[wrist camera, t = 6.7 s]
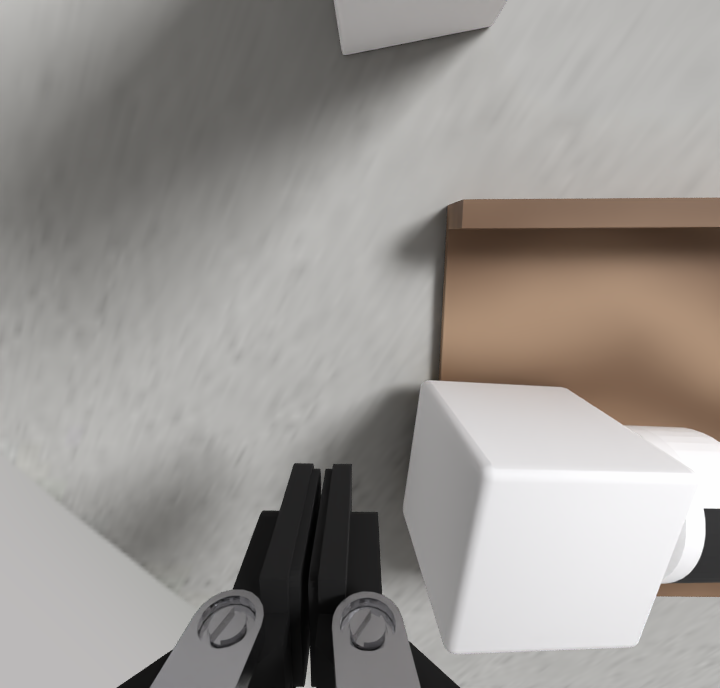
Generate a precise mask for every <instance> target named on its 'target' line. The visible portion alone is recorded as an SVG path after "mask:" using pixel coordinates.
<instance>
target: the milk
mask: <svg viewBox="0 0 720 688" xmlns="http://www.w3.org/2000/svg"><path fill="white" fill-rule="evenodd" d="M506 2H507V0H334V6H335V12H336V19H337V25H338V32H339V38H340V45H341V50H342V54H343V55H349V54H354V53H359V52H364V51H369V50H374V49H379V48H384V47H389V46H394V45H399V44H404V43H409V42H414V41H419V40H425V39H430V38H435V37H440V36H445V35H450V34H455V33H460V32H465V31H470V30H475V29H480V28H485V27H489V26H492V25H493V24H494V22H495V20H496V19H497V17H498V15H499V14H500V12H501V10H502V9H503V7H504V5H505V4H506Z"/></svg>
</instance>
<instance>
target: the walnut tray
mask: <svg viewBox="0 0 720 688" xmlns="http://www.w3.org/2000/svg"><path fill="white" fill-rule="evenodd" d="M439 381H453V382H472V383H492V384H511V385H530V386H550V387H563V388H566V389H568V390H570V391H571V392H573V393H574V394H576V395H577V396H579V397H581V398H582V399H584V400H585V401H587V402H588V403H590V404H591V405H593V406H594V407H596V408H598V409H599V410H601V411H602V412H604V413H605V414H607V415H608V416H610V417H612V418H613V419H615V420H616V421H618V422H619V423H621V424H622V425H630V426H656V427H681V428H688V429H693V430H696V431H699V432H702V433H704V434H706V435H708V436H710V437H712V438H714V439H715V440H717V441H718V442H720V198H613V199H472V200H461V201H458V202H456V203H453V204H450V205H448V206H447V226H446V246H445V265H444V285H443V305H442V325H441V345H440V364H439ZM656 596H681V597H720V583H667V584H661V585H660V587H659V590H658V592H657V595H656Z"/></svg>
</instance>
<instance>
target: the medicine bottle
mask: <svg viewBox="0 0 720 688" xmlns="http://www.w3.org/2000/svg"><path fill="white" fill-rule="evenodd" d="M403 514H404V517H405V520H406V523H407V527H408V530H409V533H410V537H411V540H412V543H413V546H414V550H415V553H416V556H417V559H418V563H419V566H420V569H421V573H422V576H423V579H424V582H425V586H426V589H427V592H428V596H429V599H430V602H431V605H432V609H433V612H434V615H435V619H436V622H437V625H438V628H439V632H440V635H441V638H442V642H443V645H444V647H445V648H446V649H447V651H448V652H450V653H453V654H477V653H502V652H526V651H551V650H575V649H600V648H624V647H633V646H635V645H637V644H638V642H639V639H640V637H641V634H642V631H643V629H644V626H645V624H646V621H647V618H648V616H649V613H650V611H651V608H652V605H653V603H654V600H655V598H656V595H657V592H658V590H659V587H660V585H661V584H667V583H720V442H718V441H717V440H715V439H714V438H712V437H710V436H708V435H706V434H704V433H702V432H699V431H696V430H693V429H688V428H681V427H656V426H630V425H622V424H621V423H619V422H618V421H616V420H615V419H613V418H612V417H610V416H608V415H607V414H605V413H604V412H602V411H601V410H599V409H598V408H596V407H594V406H593V405H591V404H590V403H588V402H587V401H585V400H584V399H582V398H581V397H579V396H577V395H576V394H574V393H573V392H571V391H570V390H568V389H566V388H563V387H550V386H530V385H511V384H492V383H472V382H453V381H434V380H428V381H424V382H423V383H422V384H421V388H420V395H419V402H418V409H417V415H416V422H415V429H414V436H413V442H412V449H411V456H410V463H409V470H408V476H407V483H406V490H405V497H404V503H403Z"/></svg>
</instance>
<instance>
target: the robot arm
mask: <svg viewBox="0 0 720 688" xmlns="http://www.w3.org/2000/svg"><path fill="white" fill-rule="evenodd" d="M309 649H310V661H311V686H312V687H316V688H460V687H459V686H458V685H457V684H455V683H454V682H453V681H452V680H451V679H450V678H449V677H448V676H447V675H446V674H444V673H443V672H442V671H441V670H440V669H439V668H438V667H437V666H436V665H435V664H434V663H432V662H431V661H430V660H429V659H428V658H427V657H426V656H425V655H424V654H423V653H421V652H420V651H419V650H418V649H417V648H416V647H415V646H414V645H413V644H412V643H410V642H409V641H408V637H407V633H406V629H405V625H404V622H403V618H402V616H401V613H400V611H399V609H398V607H397V606H396V605H395V604H394V603H393V602H392V601H391V600H390V599H388V598H387V597H385V596H384V595H382V585H381V565H380V545H379V526H378V512H352V464H333V469H326V470H325V476H324V483H323V489H322V495H321V471H320V469H314V465H313V464H302V463H295V464H294V465H293V469H292V472H291V475H290V478H289V482H288V485H287V488H286V492H285V495H284V498H283V502H282V505H281V508H280V511H262V512H261V514H260V517H259V519H258V522H257V525H256V527H255V530H254V533H253V536H252V538H251V541H250V544H249V547H248V549H247V552H246V555H245V557H244V560H243V563H242V566H241V568H240V571H239V574H238V576H237V579H236V582H235V585H234V587H233V590H229V591H225V592H221V593H219V594H217V595H215V596H213V597H211V598H210V599H209V600H208V601H206V602H205V603H204V604H203V605H201V607H200V608H199V609H198V611H197V612H196V613H195V614H194V616H193V618H192V619H191V621H190V623H189V624H188V626H187V628H186V629H185V631H184V633H183V634H182V636H181V637H180V639H179V641H178V642H177V644H176V646H175V647H174V649H173V650H171V651H170V652H168V653H167V654H165V655H164V656H162V657H161V658H160V659H158V660H157V661H155V662H154V663H152V664H151V665H149V666H148V667H147V668H145V669H144V670H142V671H141V672H139V673H138V674H136V675H135V676H133V677H132V678H130V679H129V680H127V681H126V682H124V683H123V684H121V685H120V686H119V687H117V688H296V687H304V685H305V679H306V672H307V664H308V656H309Z"/></svg>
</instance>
